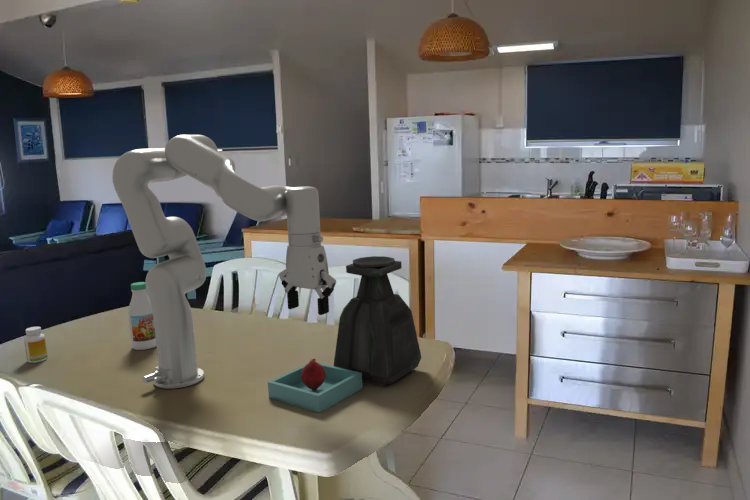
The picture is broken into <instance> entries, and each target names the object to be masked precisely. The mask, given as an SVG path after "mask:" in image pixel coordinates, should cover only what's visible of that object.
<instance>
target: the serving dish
mask: <svg viewBox="0 0 750 500" xmlns="http://www.w3.org/2000/svg"><path fill="white" fill-rule="evenodd" d="M318 363H319V364H320V365H321V366H322V367H323V368H324V370H325V375H326V377H325V381H324V382H323V384H322V385H321V386H320V387H319V388H317V390H312V389H310V388H308V387H307V386H306V385H304V383H303V382H302V378H301V376H302V370H303V368H304V367H305V366H306V365H307V364H308V363H305V364H304V365H302V366H299V367H297V368H295V369H293V370H291V371H289V372H287V373H286V372H285V373H284V374H282V375H280V376H278V377H276V378H273V379H271V380H269V381H267V390H268V398H269V399H272V400H275V401H279V402H281V401H282V403H285V404H289V405H291V406H292V405H293V406H295V407H299V408H301V409H302V408H303V409H306V410H309V411H313V412H315V413H318V412H319V413H322V412H323V411H325V410H326V409H329V408H330V407H332V406H334V405H336V404H338V403H339V402H341V401H343V400H344V399H346V398H348V397H350V396H352V395H353V394H356V393H357V392H359V391H361V390H362V389H363V381H362V373H360V372H356V371H352V370H347V369H343V368H339V367H335V366H334V365H330V364H325V363H322V362H318Z"/></svg>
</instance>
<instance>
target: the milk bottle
mask: <svg viewBox="0 0 750 500" xmlns="http://www.w3.org/2000/svg"><path fill="white" fill-rule="evenodd" d="M130 290H131V292H132V293H131V294H132V295H131V300H130V303H129V306H128V323H129V332H130V340H131V341H130V342H131V347H132V349H133V350H136V351H143V350H151V349H153V348H155V347H156V348H157V346H156V336H155V327H154V320H153V312H152V306H151V302H150V298H149V295H148V292H147V289H146V282H145V281H139V282H133V283H130Z"/></svg>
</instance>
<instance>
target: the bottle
mask: <svg viewBox="0 0 750 500" xmlns="http://www.w3.org/2000/svg"><path fill="white" fill-rule="evenodd" d="M395 259H396V258H394V257H390V256H384V255H383V256H382V255H381V256H365V257H358V258H356V259H353V260H352V263H350V264H347V265H345V272H346V274H350V275H357V276H360V277H361V278H360V281H359V285H358V289H357V292H356V296H355V297H352V298H350V300H349V301H348V303H346V305H345V306H344V307H343V309H342V311H341V314H340V316H339V321H338V328H337V335H336V336H337V337H336V344H335V351H334V360H333V366H335V367H339V368H343V369H347V370H352V371H356V372H360V373H362V382H367V383H372V384H376V385H380V386H384V387H385V386H387V385H390V384H393V383H395V382H397V381H398V380H400V379H401V378H403V377H404V376H406V375H408V374H409V373H410V372H412V371H414V370H415V369H417V368H418V367H419V365H420V362H421V360H422V353H421V349H420V345H419V340H418V335H417V330H416V326H415V322H414V316H413V312H412V309H411V308H410V307H409V306H408V304H407V303H406V302H405V300H404V299H403V298H402V296H401V295H400V294H398V293H394V291H393V287H392V284H391V281H390V279H389V276H388V274H390V273H392V272H396V271H398V270H401V269H402V261H401V260H395Z"/></svg>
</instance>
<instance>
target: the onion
mask: <svg viewBox="0 0 750 500" xmlns="http://www.w3.org/2000/svg"><path fill="white" fill-rule="evenodd" d="M319 363H320V362H317V360H316V358H314V357H312V358H311V359H310V360H309V362H308V363H306V364H307V365H306V364H305V365H306V366H305V367H304V368H303V370H302V376H301V378H302V382H303V383H304V385H306V386H307V387H308V388H310V389H312V390H317V388H319V387H320V386H321V385H322V384H323V382H324V381H325V377H326V375H325V370H324V368H323V367H322V366H321V365H320V364H319Z"/></svg>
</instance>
